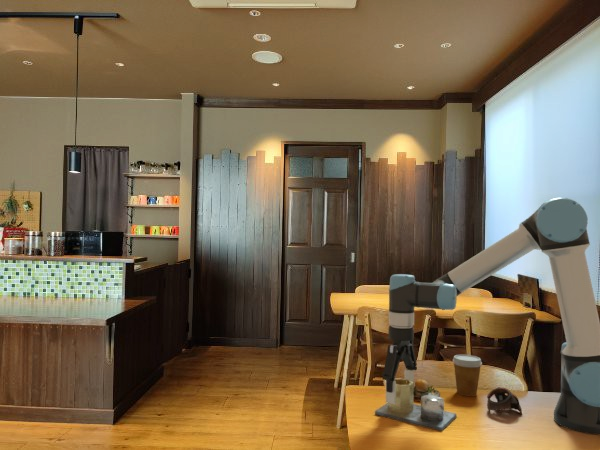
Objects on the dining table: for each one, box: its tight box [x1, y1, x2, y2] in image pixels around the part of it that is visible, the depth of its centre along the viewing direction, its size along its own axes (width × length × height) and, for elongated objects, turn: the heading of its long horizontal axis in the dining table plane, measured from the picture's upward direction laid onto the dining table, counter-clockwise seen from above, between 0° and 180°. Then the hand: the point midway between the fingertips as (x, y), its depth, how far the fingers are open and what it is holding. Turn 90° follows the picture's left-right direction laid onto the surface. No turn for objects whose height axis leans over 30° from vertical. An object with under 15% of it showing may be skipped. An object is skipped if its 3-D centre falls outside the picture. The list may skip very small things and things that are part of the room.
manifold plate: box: [374, 395, 457, 432], centre depth 144 cm, size 20×13×6 cm, turn 55°
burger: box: [413, 378, 441, 403], centre depth 161 cm, size 12×12×8 cm
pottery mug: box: [486, 386, 523, 415], centre depth 149 cm, size 12×10×8 cm
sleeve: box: [388, 377, 415, 413], centre depth 146 cm, size 7×7×8 cm
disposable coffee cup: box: [452, 354, 483, 397], centre depth 166 cm, size 10×10×12 cm
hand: (399, 396), depth 146 cm, fingers open, 13 cm apart
